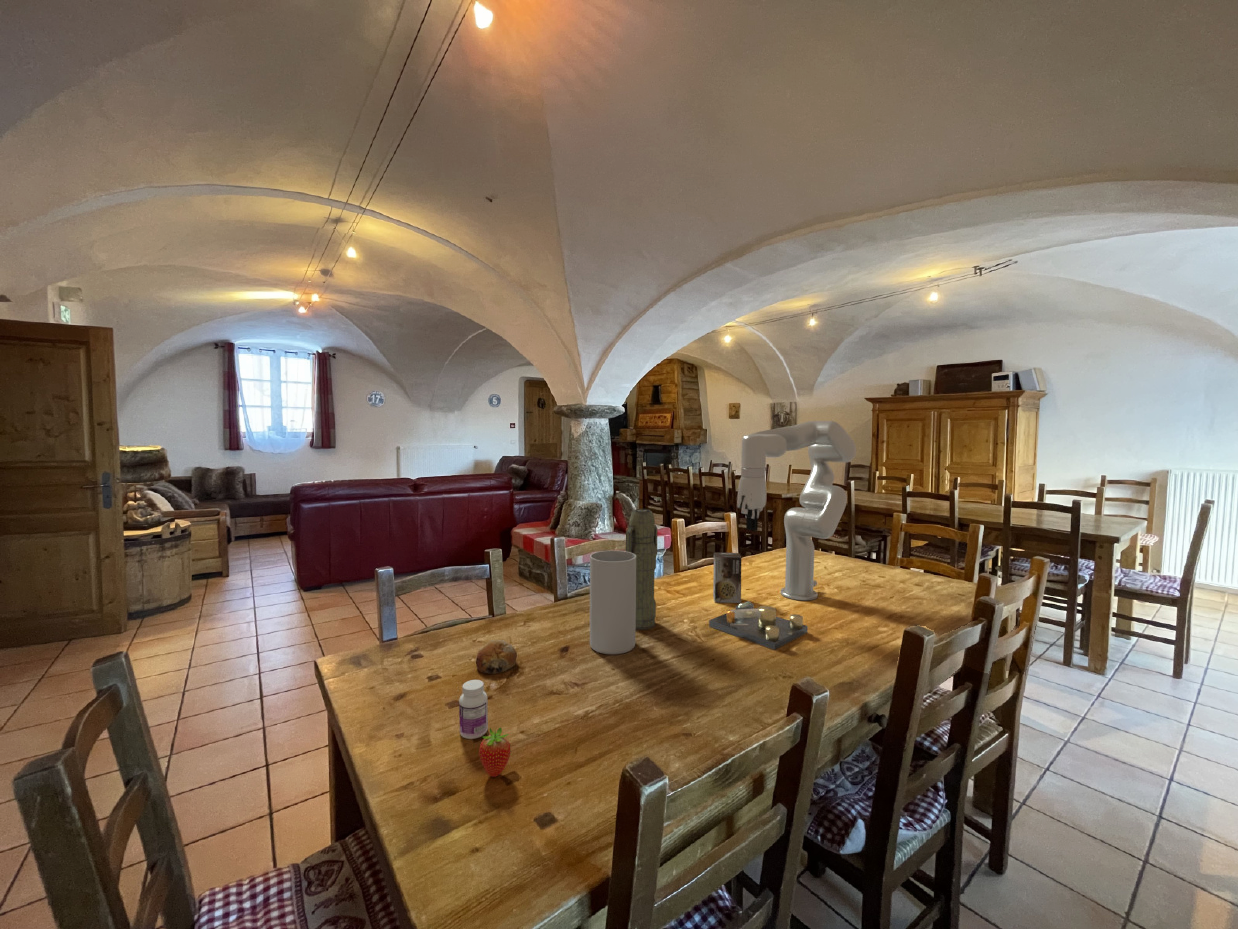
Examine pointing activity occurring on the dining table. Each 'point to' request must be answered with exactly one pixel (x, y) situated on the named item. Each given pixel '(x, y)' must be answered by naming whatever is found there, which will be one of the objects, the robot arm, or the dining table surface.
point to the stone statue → (643, 564)
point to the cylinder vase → (612, 601)
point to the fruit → (494, 752)
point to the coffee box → (727, 578)
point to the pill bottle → (473, 710)
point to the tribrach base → (752, 632)
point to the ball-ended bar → (754, 615)
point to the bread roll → (496, 657)
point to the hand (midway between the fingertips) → (751, 530)
